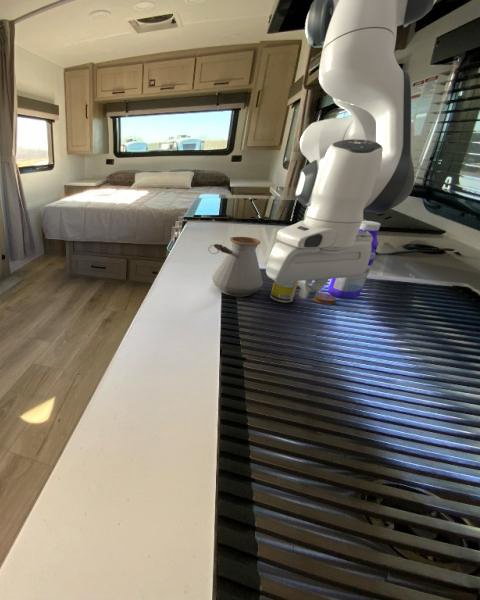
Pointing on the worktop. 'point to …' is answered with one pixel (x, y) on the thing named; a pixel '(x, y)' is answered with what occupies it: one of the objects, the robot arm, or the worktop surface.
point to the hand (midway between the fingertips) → (307, 297)
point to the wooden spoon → (323, 298)
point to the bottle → (354, 285)
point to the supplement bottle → (284, 291)
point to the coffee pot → (238, 268)
